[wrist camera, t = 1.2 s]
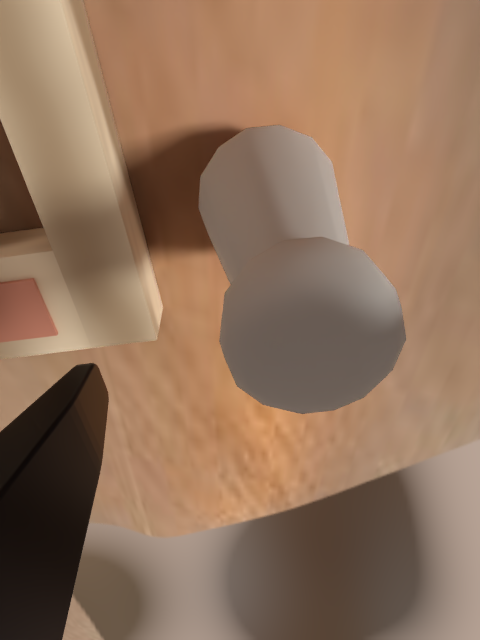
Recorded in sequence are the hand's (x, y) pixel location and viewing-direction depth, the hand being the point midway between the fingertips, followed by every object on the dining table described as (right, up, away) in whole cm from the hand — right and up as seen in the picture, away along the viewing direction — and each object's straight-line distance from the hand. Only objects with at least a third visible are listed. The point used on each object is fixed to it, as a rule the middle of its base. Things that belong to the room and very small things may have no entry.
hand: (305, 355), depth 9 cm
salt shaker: (0, +7, +11) cm, 13 cm away
